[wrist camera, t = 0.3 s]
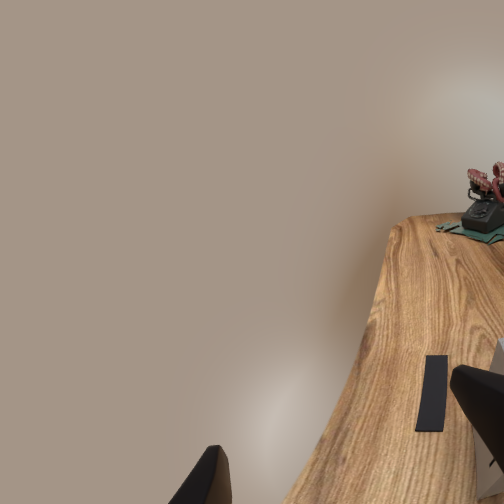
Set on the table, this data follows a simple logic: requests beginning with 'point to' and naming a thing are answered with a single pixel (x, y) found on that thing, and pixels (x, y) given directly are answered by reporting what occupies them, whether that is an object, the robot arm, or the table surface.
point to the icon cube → (486, 466)
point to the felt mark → (433, 394)
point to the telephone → (483, 207)
